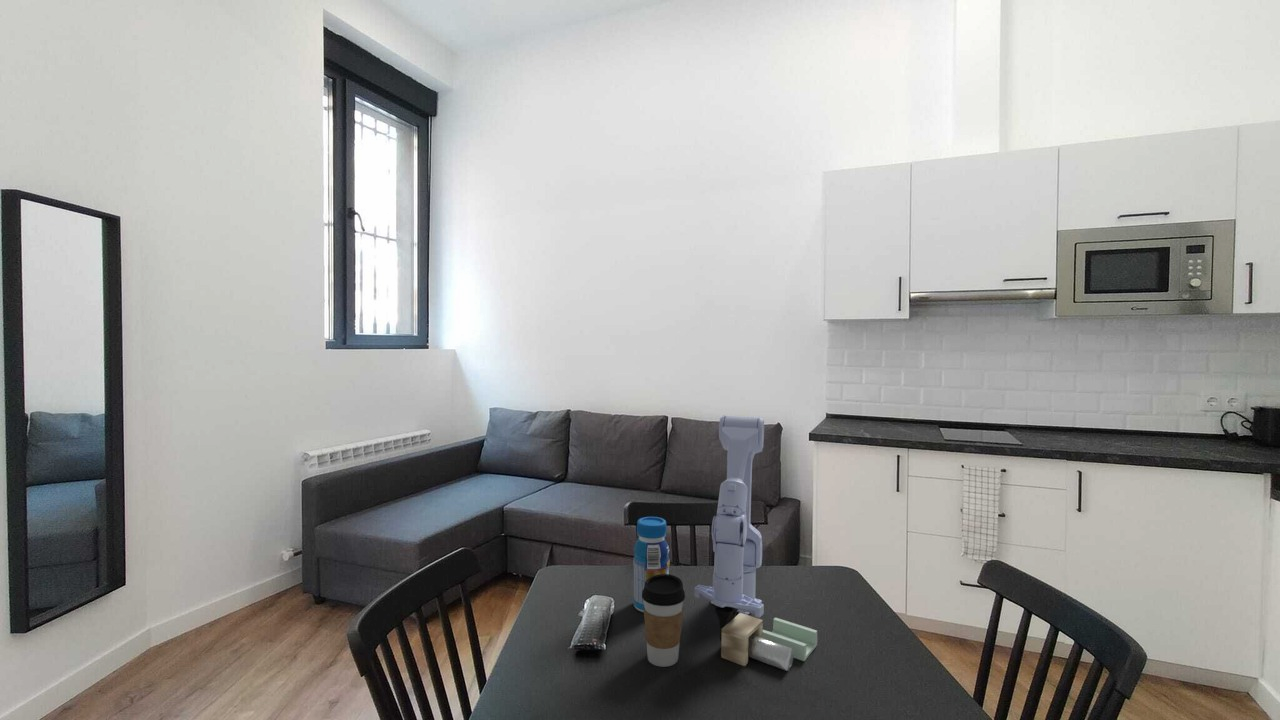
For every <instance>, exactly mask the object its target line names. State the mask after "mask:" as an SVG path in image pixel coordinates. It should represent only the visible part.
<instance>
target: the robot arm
mask: <svg viewBox="0 0 1280 720" xmlns="http://www.w3.org/2000/svg"><path fill="white" fill-rule="evenodd" d="M764 420H765V419H763V417H762V416H758V417H749V416H747V417H746V416H730V415H727V416H726V415H722V416H721V417H720V418H719V422H718V423H719V424H718V438H719V441H720V443H721V446H722V448H723V450H725V451H727V455H726V457H727V461H726V479H725V480H724V481H722V482H721V483H720V486H719V494H718V500H717V508H716V515H714V516H713V518H712V523H711V539H712V551H713V553H714V562H713V563H714V565H713V573H712V586H709V585H708V586H707V585H702V584H698V585H696V586H695V587H694V597H695V598H697V599H700V598H702V599H703V598H704V599H706V600H709V601H710V603H711V604H712V605H714V606H717V607H715V608H714V609H715V610H714V613H715V615H716V616H717V618H718V620H719V640H720V642H721V640H722V628H723V627H724V626H725V625H727V624H728V623H729V622H730V621H731V620H732V619H734V618H735V617H736V616H737V615H736V614H737V613H738V614H739V613H742V614H746V615H749V614H752V615H754V617H755V618H758V619H760V618H761V617H762V616H763V615H764V613H765V610H764V608H765V604H763V603H762V602H763V601H762V600H761V599H759V598H756V580H757V579H756V577H757V576H756V573H757V572H756V569H759V568H760V567H762V562H763V561H762V560H763V542H762V541H763V539H762V538H763V537H762V533H761V532H760V531H759V530H758V529H757V528H756V527H755V526H754V525H752V523H751V515H752V513H751V511H752V508H751V507H752V483H753V482H752V481H753V480H752V478H753V460H754V458H755V455H756V454H759V453H762V452H763V449H764V439H765V436H764V435H765V421H764Z"/></svg>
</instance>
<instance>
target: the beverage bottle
mask: <svg viewBox="0 0 1280 720" xmlns="http://www.w3.org/2000/svg"><path fill="white" fill-rule="evenodd" d="M636 524H637V525H636V533H637V537H638V538H637V540H636V541H635V544H634V547H633V552H634V556H633V558H632V559H633V560H632V564H633V606H634V608H635V609H636V610H637V611H639V612H641V613H644V609H643V607H644V600H643V598H642V591H643V589H644V584H645V582H646V581H647V579H649V578H650V577H652V576H654V575H659V574H670V572H669V571H670V564H671V561H670V557H669V554H670V548H669V545H668V542H667V540H666V539H665V537H666V535H667V521H666V520H665V519H664V518H663V517H658V516H646V517H645V516H644V517H640V518H639V519H638V520H637V522H636Z"/></svg>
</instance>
